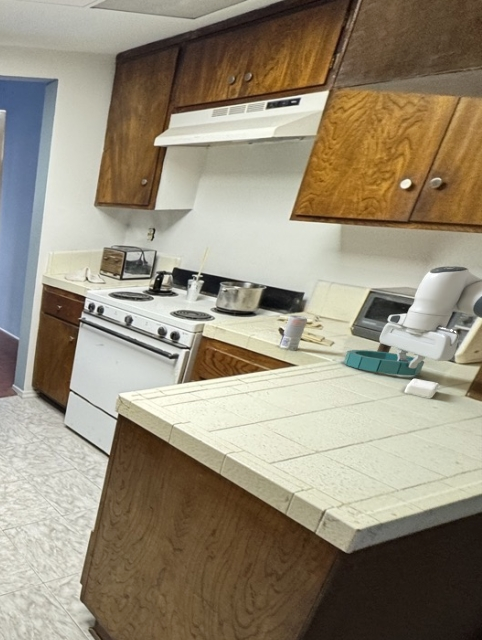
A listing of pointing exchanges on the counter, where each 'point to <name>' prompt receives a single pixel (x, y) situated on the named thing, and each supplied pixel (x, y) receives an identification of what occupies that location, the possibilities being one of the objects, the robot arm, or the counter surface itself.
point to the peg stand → (384, 348)
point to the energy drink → (293, 332)
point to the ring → (380, 362)
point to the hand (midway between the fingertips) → (405, 365)
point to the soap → (422, 388)
